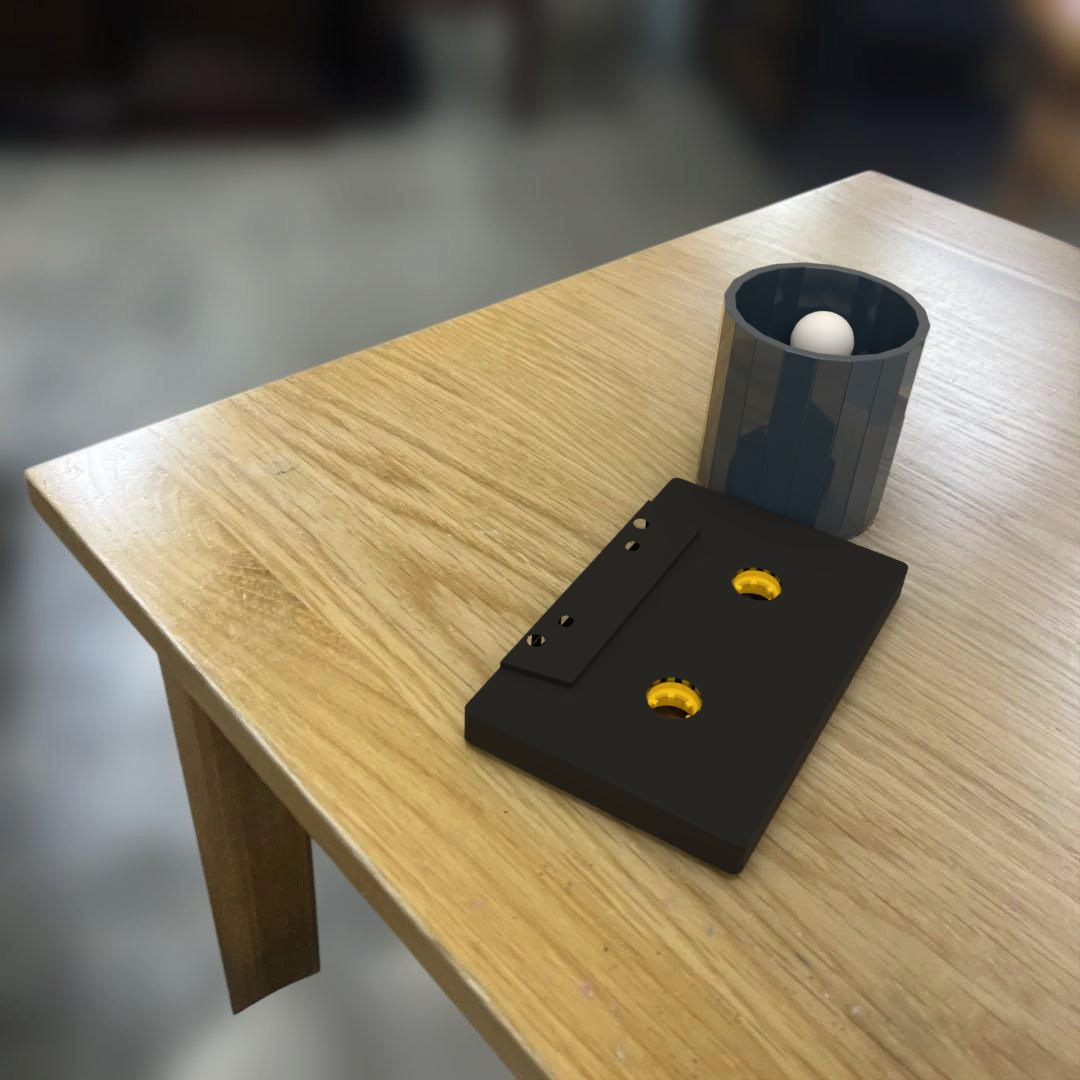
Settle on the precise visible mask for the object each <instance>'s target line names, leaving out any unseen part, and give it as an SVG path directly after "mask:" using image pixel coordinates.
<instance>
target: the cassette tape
mask: <svg viewBox="0 0 1080 1080" xmlns="http://www.w3.org/2000/svg"><path fill="white" fill-rule="evenodd" d="M636 520H645V525H644V528H640V527H637V526H636V525H635V524H634V523H635V521H636ZM631 542H634V543H633V544H632V545H631V546H630V547H629V548H627V547H626V546H628V544H629V543H631ZM908 571H909V565H908V564H907V563H906V562H904V561H902V560H900V559H897V558H895V557H892V556H889V555H886V554H884V553H881V552H879V551H876V550H873V549H870V548H869V547H865V546H862V545H859V544H856V543H855V542H852V541H849V540H848V539H847V540H844V539H841V538H839V537H836V536H833V535H831V534H828V533H825V532H823V531H820V530H817V529H815V528H812V527H809V526H807V525H804V524H801V523H799V522H796V521H793V520H791V519H788V518H785V517H783V516H780V515H777V514H775V513H772V512H769V511H767V510H764V509H761V508H759V507H756V506H753V505H751V504H748V503H745V502H743V501H740V500H737V499H735V498H732V497H729V496H727V495H724V494H721V493H719V492H716V491H713V490H711V489H708V488H705V487H703V486H700V485H697V483H694V482H692V481H689V480H687V479H685V478H680V477H673V478H671V479H669V481H668V482H667V483H666V484H665V486H663V488H662V489H660V491H659V492H658V493H657V494H656V495H655V496H654V497H653V499H652V500H650V499H648V500H646V502H645V503H644V504H643V505H642V506H641V507H640V509H639V510H637V512H636V513H634V515H633V516H632V517H631V518H630V519H629V520H628V522H627V523H626V524H625V525H624V526H623V527H622V528H621V529H620V530H619V531H618V532H617V533H616V535H615V536H614V537H613V538H612V539H611V540H610V541H609V542H608V543H607V545H606V546H605V547H604V548H602V550H601V551H600V552H599V553H598V554H597V555H596V556H595V558H594V559H592V561H591V562H590V563H589V564H588V565H587V566H586V567H585V569H584V570H582V571H581V572H580V574H579V575H578V576H577V577H576V578H575V579H574V580H573V581H572V583H570V585H569V586H568V587H567V588H566V589H565V590H564V591H563V593H561V594H560V596H559V597H558V598H557V599H556V600H555V601H554V602H553V603H552V604H551V606H549V608H548V609H547V610H546V611H545V612H544V613H543V614H542V616H540V618H539V619H538V620H537V621H536V622H535V623H534V624H533V625H532V626H531V627H530V629H529V630H528V631H527V632H526V633H525V634H524V635H523V636H522V637H521V638H520V639H519V640H518V642H516V644H515V645H514V646H513V647H512V648H511V649H510V651H508V653H506V655H505V656H504V657H503V658H502V659H501V660H500V662H499V664H500V665H499V668H498V669H497V670H496V671H495V672H494V673H493V674H492V675H491V676H490V677H489V678H488V680H487V681H486V682H484V684H483V685H482V686H481V687H480V688H479V689H478V691H477V692H476V693H475V694H474V695H473V696H472V697H471V698H470V699H469V700H468V701H467V702H466V704H465V705H464V717H463V718H464V720H463V721H464V725H463V726H464V730H463V732H464V734H463V737H464V738H463V739H464V740H465V742H466V743H468V744H470V745H471V746H473V747H475V748H478V749H479V750H482V751H484V752H486V753H488V754H490V755H492V756H493V757H495V758H498V759H499V760H502V761H503V762H506V763H508V764H510V765H512V766H513V767H515V768H518V769H519V770H522V771H524V772H525V773H527V774H529V775H531V776H533V777H536V778H538V779H540V780H541V781H543V782H545V783H547V784H549V785H552V786H554V787H555V788H557V789H559V790H561V791H564V792H565V793H568V794H569V795H572V796H574V797H575V798H577V799H579V800H581V801H583V802H584V803H588V804H589V805H591V806H593V807H595V808H596V809H597V808H598V809H599V810H601V811H603V812H605V813H608V814H609V815H610V816H613V817H615V818H617V819H619V820H621V821H623V822H625V823H627V824H629V825H631V826H633V827H635V828H637V829H638V830H641V831H643V832H645V833H646V834H649V835H651V836H652V837H655V838H657V839H659V840H661V841H662V842H666V843H667V844H669V845H671V846H672V847H675V848H677V849H679V850H681V851H683V852H685V853H687V854H689V855H690V856H693V857H695V858H697V859H699V860H701V861H703V862H705V863H706V864H709V865H710V866H712V867H715V868H717V869H719V870H721V871H722V872H724V873H726V874H729V875H734V876H736V875H739V874H741V872H743V870H744V868H745V866H746V865H747V863H748V861H749V859H750V858H751V856H752V854H753V852H754V851H755V849H756V847H757V846H758V844H759V842H760V841H761V839H762V837H763V835H764V833H765V831H766V830H767V828H768V826H769V824H770V822H771V821H772V819H773V818H774V816H775V814H776V813H777V811H778V809H779V807H780V806H781V804H782V802H783V800H784V799H785V797H786V795H787V794H788V791H789V790H790V788H791V786H792V784H793V783H794V782H795V779H796V778H797V776H798V774H799V773H800V771H801V769H802V768H803V766H804V764H805V762H806V760H807V759H808V757H809V755H810V754H811V751H812V750H813V748H814V746H815V744H816V743H817V741H818V740H819V738H820V736H821V734H822V732H823V731H824V730H825V727H826V725H827V723H828V722H829V720H830V719H831V717H832V715H833V714H834V711H835V710H836V708H837V706H838V704H839V703H840V701H841V699H842V698H843V696H844V694H845V692H846V691H847V689H848V688H849V685H850V684H851V682H852V680H853V678H854V677H855V675H856V673H857V671H858V670H859V668H860V666H861V665H862V662H863V661H864V659H865V657H867V654H868V653H869V650H870V649H871V647H872V646H873V644H874V641H875V640H876V638H877V637H878V635H879V634H880V632H881V630H882V628H883V626H884V625H885V623H886V621H887V619H888V617H889V616H890V614H891V613H892V611H893V609H894V607H895V606H896V604H897V601H898V600H899V598H900V596H901V593H902V590H903V587H904V584H905V581H906V577H907V574H908ZM746 596H753V597H758V598H761V599H763V600H757V599H753V598H749V597H746ZM563 617H567V618H566V619H565V620H564V621H563ZM562 621H563V622H562ZM529 637H530V639H531V640H530V644H529V642H528V640H529ZM542 638H543V639H542ZM542 640H544V641H542ZM659 707H674V708H676V709H680V710H682V711H684V712H686V713H687V715H686V716H685V717H684V718H672V717H669V716H665V715H662V714H660V713H659V712H657V711H656V710H654V709H657V708H659Z"/></svg>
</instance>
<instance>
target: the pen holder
mask: <svg viewBox="0 0 1080 1080" xmlns="http://www.w3.org/2000/svg"><path fill="white" fill-rule="evenodd" d="M818 311H827V312H832V313H835V314H837V315H839V316H841V317H842V318H844V319H845V320H846V321H847V322H848V324H849V325H850V327H851V329H852V331H853V336H854V347H853V351H852V353H851V355H850V356H845V355H834V354H823V353H816V352H812V351H808V350H804V349H800V348H796V347H792V346H791V345H790V340H791V335H792V332H793V330H794V328H795V326H796V324H797V323H798V322H799V321H800V320H801V319H802V318H804V317H805V316H806V315H808V314H811V313H814V312H818ZM930 330H931V322H930V319H929V316H928V313H927V311H926V309H925V307H924V306H923V305H921V303H920V302H919V301H918V300H917V299H916V298H915V297H914V296H913V295H912V294H911V293H909V292H908V291H906V290H904V289H903V288H901V287H899V286H898V285H896V284H894V283H893V282H891V281H889V280H887V279H884V278H881V277H878V276H876V275H873V274H871V273H868V272H865V271H862V270H858V269H854V268H849V267H844V266H841V265H836V264H827V263H819V262H815V263H814V262H801V261H799V262H785V263H784V262H783V263H782V262H781V263H773V264H769V265H765V266H761V267H756V268H753V269H750V270H748V271H746V272H745V273H743V274H741V275H739V276H737V277H736V278H734V279H733V280H732V281H731V283H730V284H729V286H728V287H727V289H726V290H725V291H724V294H723V299H722V306H721V312H720V319H719V325H718V331H717V338H716V344H715V349H714V350H715V351H714V356H713V364H712V370H711V376H710V383H709V389H708V396H707V402H706V407H705V413H704V420H703V426H702V427H703V428H702V434H701V440H700V447H699V453H698V459H697V470H696V480H695V481H696V484H697V485H700V486H703V487H705V488H708V489H711V490H713V491H716V492H719V493H721V494H724V495H727V496H729V497H732V498H735V499H737V500H740V501H743V502H745V503H748V504H751V505H753V506H756V507H759V508H761V509H764V510H767V511H769V512H772V513H775V514H777V515H780V516H783V517H785V518H788V519H791V520H793V521H796V522H799V523H801V524H804V525H807V526H809V527H812V528H815V529H817V530H820V531H823V532H825V533H828V534H831V535H833V536H836V537H839V538H841V539H844V540H847V541H848V540H850V539H852V538H855V537H856V536H858V535H860V534H861V533H864V531H866V530H867V529H868V528H869V527H870V526H871V525H872V523H874V521H875V520H876V518H877V516H878V514H879V510H880V506H881V503H882V500H883V498H884V495H885V491H886V488H887V484H888V480H889V477H890V473H891V470H892V467H893V466H892V465H893V462H894V458H895V455H896V451H897V448H898V445H899V442H900V441H899V440H900V437H901V433H902V430H903V426H904V423H905V419H906V416H907V412H908V408H909V406H910V401H911V398H912V395H913V391H914V387H915V384H916V380H917V377H918V373H919V370H920V365H921V363H922V359H923V355H924V351H925V348H926V344H927V340H928V337H929V334H930Z"/></svg>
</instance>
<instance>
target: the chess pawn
mask: <svg viewBox="0 0 1080 1080" xmlns="http://www.w3.org/2000/svg"><path fill="white" fill-rule="evenodd" d="M790 345H791V346H792V347H796V348H800V349H804V350H808V351H812V352H816V353H823V354H834V355H845V356H850V355H851V353H852V351H853V347H854V336H853V331H852V329H851V327H850V325H849V324H848V322H847V321H846V320H845V319H844V318H842V317H841V316H839V315H837V314H835V313H832V312H827V311H818V312H814V313H811V314H808V315H806V316H805V317H804V318H802V319H801V320H800V321H799V322H798V323H797V324H796V326H795V328H794V330H793V332H792V335H791V340H790Z"/></svg>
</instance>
